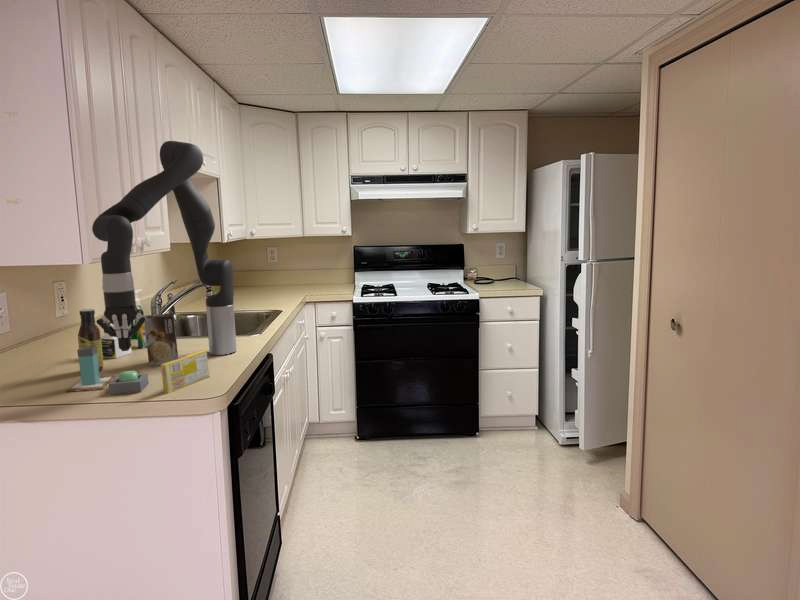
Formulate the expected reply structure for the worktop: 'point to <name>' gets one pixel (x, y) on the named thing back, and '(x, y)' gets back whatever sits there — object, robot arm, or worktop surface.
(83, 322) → the sauce bottle
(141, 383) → the button housing
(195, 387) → the worktop surface
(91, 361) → the teal and grey block
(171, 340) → the coffee box
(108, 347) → the medicine bottle
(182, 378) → the candy box
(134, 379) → the button
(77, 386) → the clipboard
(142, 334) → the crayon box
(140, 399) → the worktop surface
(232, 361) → the worktop surface
